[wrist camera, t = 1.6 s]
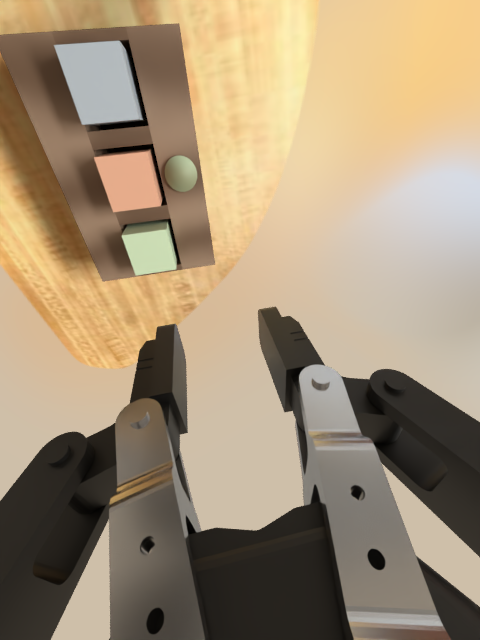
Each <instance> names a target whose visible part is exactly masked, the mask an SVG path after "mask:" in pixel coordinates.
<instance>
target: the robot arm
mask: <svg viewBox="0 0 480 640" xmlns="http://www.w3.org/2000/svg"><path fill="white" fill-rule="evenodd" d="M258 320H259V338H260V344H261V349H262V352H263V354H264V357H265V360H266V362H267V365H268V368H269V371H270V373H271V376H272V379H273V382H274V385H275V387H276V390H277V393H278V395H279V398H280V401H281V404H282V406H283V409H284V412H288V411H293V413H294V416H295V418H296V422H295V428H296V435H297V442H298V448H299V457H300V464H301V471H302V479H303V499H304V506H301V507H297V508H294V509H292V510H291V511H289V512H288V513H286V514H285V515H283V516H281V517H280V518H278V519H276V520H275V521H273V522H272V523H270V524H269V525H267V526H265V527H264V528H262V529H260V530H257V531H252V530H239V529H226V528H213V529H209V530H205V531H201V528H200V524H199V521H198V518H197V514H196V512H195V508H194V505H193V501H192V497H191V493H190V489H189V485H188V480H187V476H186V472H185V468H184V464H183V460H182V456H181V452H180V449H179V448H180V434H184V433H188V432H187V387H186V386H187V384H186V359H185V354H184V349H183V346H182V342H181V339H180V335H179V332H178V328H177V325H176V324H171V325H165V326H159V327H157V332H156V339H155V340H150V341H146V342H145V344H144V345H143V347H142V348H141V349H140V351H139V357H138V363H137V368H136V370H137V371H136V374H135V379H134V384H133V389H132V394H131V400H130V404H129V405H127V406H126V407H125V408H124V409H123V410H122V411H121V412H120V414H119V415H118V417H117V419H116V423H114V424H113V425H111V426H110V427H108V428H106V429H104V430H102V431H100V432H98V433H96V434H93V435H91V436H89V437H87V438H86V437H85V436H84V435H83V434H81V433H78V432H68V433H64V434H62V435H59V436H57V437H56V438H54V439H53V440H51V441H50V442H48V443H47V444H46V445H45V446H44V447H43V448H42V449H41V450H40V451H39V453H38V454H37V455H36V456H35V458H34V459H33V460H32V461H31V463H30V464H29V465H28V467H27V468H26V469H25V470H24V472H23V473H22V474H21V475H20V477H19V478H18V479H17V480H16V482H15V483H14V484H13V486H12V487H11V488H10V489H9V491H8V492H7V493H6V495H5V496H4V497H3V499H2V500H1V501H0V640H51V637H52V635H53V633H54V631H55V629H56V627H57V625H58V623H59V621H60V619H61V617H62V615H63V613H64V611H65V608H66V606H67V604H68V602H69V600H70V598H71V596H72V594H73V592H74V590H75V588H76V586H77V583H78V581H79V579H80V577H81V575H82V573H83V571H84V569H85V567H86V565H87V563H88V561H89V559H90V556H91V555H92V552H93V550H94V548H95V546H96V544H97V542H98V540H99V538H100V536H101V534H102V532H103V530H104V527H105V526H106V523H107V521H108V519H109V554H110V555H109V556H110V639H109V640H480V607H479V606H478V605H477V604H475V603H474V602H473V601H471V600H470V599H469V598H468V597H466V596H465V595H464V594H463V593H462V592H460V591H459V590H458V589H457V588H455V587H454V586H453V585H451V584H450V583H449V582H448V581H447V580H445V579H444V578H443V577H442V576H441V575H439V574H438V573H437V572H436V571H434V570H433V569H432V568H431V567H429V566H428V565H427V564H426V563H424V562H423V561H422V560H421V559H419V558H418V557H417V556H416V555H415V552H414V550H413V547H412V544H411V542H410V539H409V536H408V533H407V531H406V528H405V525H404V523H403V520H402V518H401V515H400V512H399V510H398V507H397V504H396V501H395V499H394V496H393V493H392V491H391V488H390V485H389V483H388V480H387V477H386V475H385V472H384V469H383V467H382V464H383V465H384V466H385V467H386V468H387V469H388V470H390V471H391V472H392V473H393V474H394V475H395V476H396V477H397V478H398V479H399V480H400V481H401V482H402V483H403V484H404V485H405V486H406V487H407V488H408V489H409V490H410V491H412V492H413V493H414V494H415V495H416V496H417V497H418V498H419V499H420V500H421V501H422V502H423V503H424V504H425V505H426V506H427V507H428V508H429V509H430V510H431V511H432V512H433V513H434V514H436V515H437V516H438V517H439V518H440V519H441V520H442V521H443V522H444V523H445V524H446V525H447V526H448V527H449V528H450V529H451V530H452V531H453V532H454V533H455V534H457V536H458V537H459V538H461V539H462V540H463V541H464V542H465V543H466V544H467V545H468V546H469V547H470V548H471V549H472V550H473V551H474V552H475V553H476V554H477V555H478V556H479V557H480V422H478V421H477V420H475V419H474V418H472V417H471V416H469V415H468V414H466V413H465V412H463V411H461V410H460V409H458V408H457V407H455V406H453V405H452V404H450V403H449V402H448V401H446V400H444V399H443V398H441V397H440V396H438V395H437V394H435V393H433V392H432V391H431V390H429V389H427V388H426V387H424V386H423V385H421V384H420V383H418V382H417V381H415V380H413V379H412V378H410V377H409V376H407V375H406V374H404V373H401V372H399V371H396V370H391V369H381V370H378V371H376V372H374V373H373V374H372V375H371V377H370V380H369V379H354V378H346V377H342V376H340V374H339V373H338V372H337V371H335V370H334V369H332V368H330V367H328V366H325V365H324V363H323V362H322V360H321V358H320V357H319V355H318V353H317V352H316V350H315V348H314V347H313V345H312V343H311V342H310V340H309V339H308V337H307V335H306V334H305V332H304V331H303V329H302V327H301V326H300V324H299V322H297V321H296V320H294V319H293V318H292V317H290V316H287V317H281V315H280V313H279V311H278V310H277V308H276V307H271V308H265V309H259V310H258ZM381 463H382V464H381Z"/></svg>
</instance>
